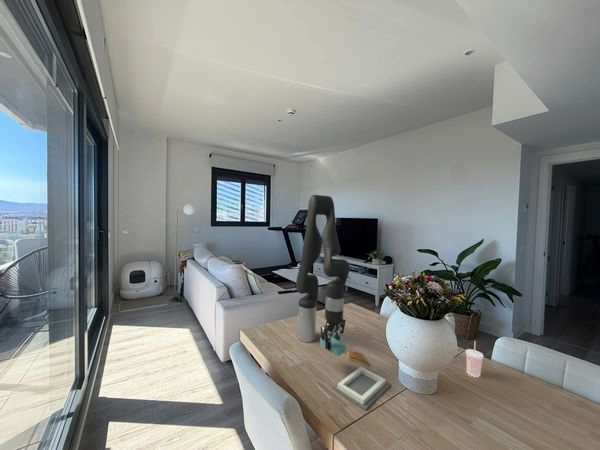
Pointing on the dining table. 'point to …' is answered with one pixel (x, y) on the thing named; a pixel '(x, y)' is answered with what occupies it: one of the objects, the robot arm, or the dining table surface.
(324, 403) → the dining table surface
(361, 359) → the shard
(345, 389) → the mat
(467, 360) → the beverage cup
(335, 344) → the teal block
